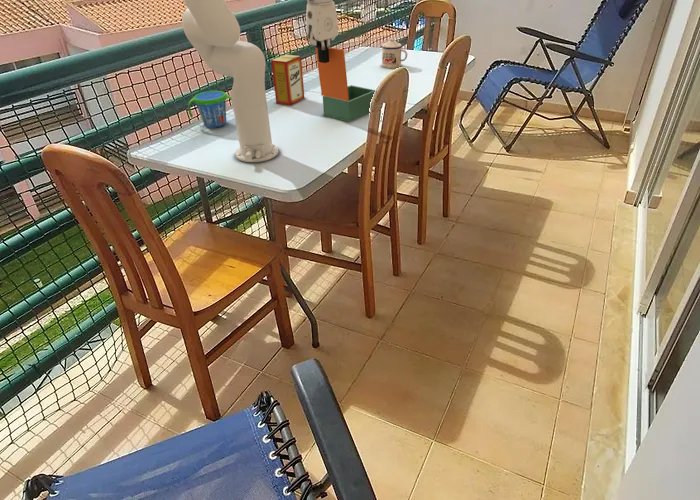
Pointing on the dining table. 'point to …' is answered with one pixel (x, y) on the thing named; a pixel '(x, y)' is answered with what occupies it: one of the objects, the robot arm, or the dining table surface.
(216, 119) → the snack cup
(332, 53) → the lid
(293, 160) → the dining table surface
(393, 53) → the teacup with lid
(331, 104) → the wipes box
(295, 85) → the baking soda box
